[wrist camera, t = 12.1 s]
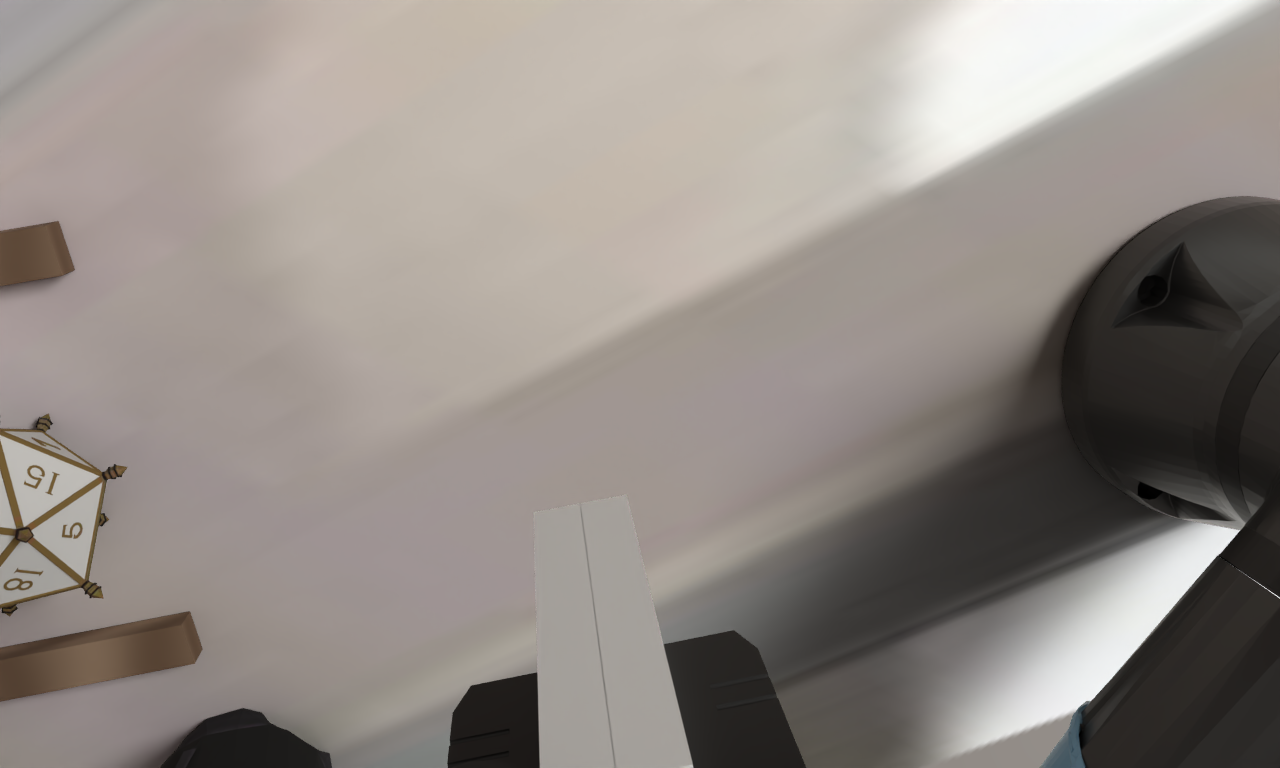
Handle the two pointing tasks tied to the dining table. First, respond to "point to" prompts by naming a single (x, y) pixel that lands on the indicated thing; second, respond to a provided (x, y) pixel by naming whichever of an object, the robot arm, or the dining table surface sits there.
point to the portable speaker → (244, 745)
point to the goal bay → (100, 649)
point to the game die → (47, 516)
